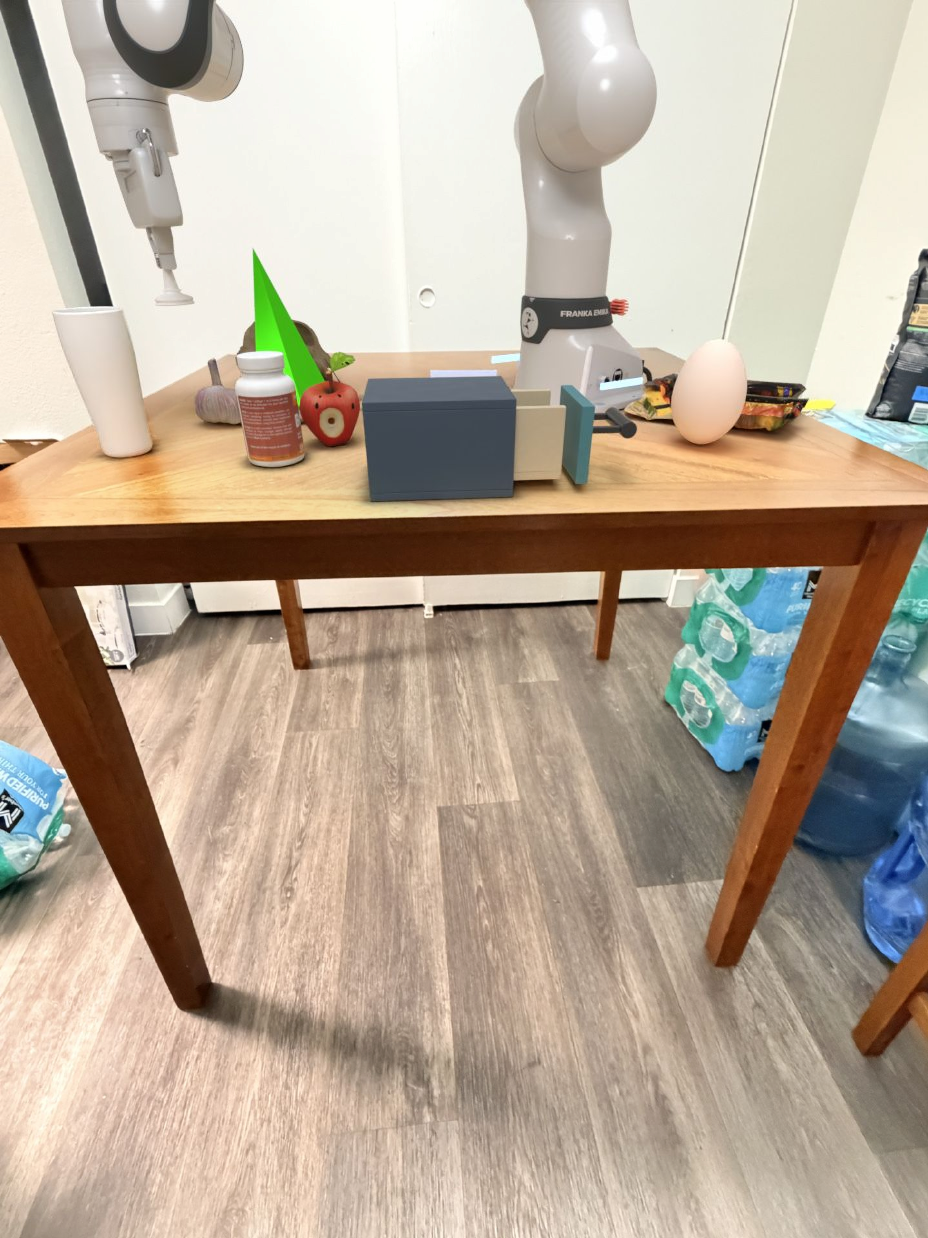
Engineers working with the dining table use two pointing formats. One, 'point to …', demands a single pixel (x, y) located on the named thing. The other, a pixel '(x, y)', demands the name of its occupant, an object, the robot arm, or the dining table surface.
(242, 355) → the pill bottle
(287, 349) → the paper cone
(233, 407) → the garlic bulb
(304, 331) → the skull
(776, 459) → the dining table surface
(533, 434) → the drawer
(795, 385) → the food
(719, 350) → the egg
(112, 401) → the drinking glass
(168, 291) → the chess piece
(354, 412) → the apple
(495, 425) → the cabinet
